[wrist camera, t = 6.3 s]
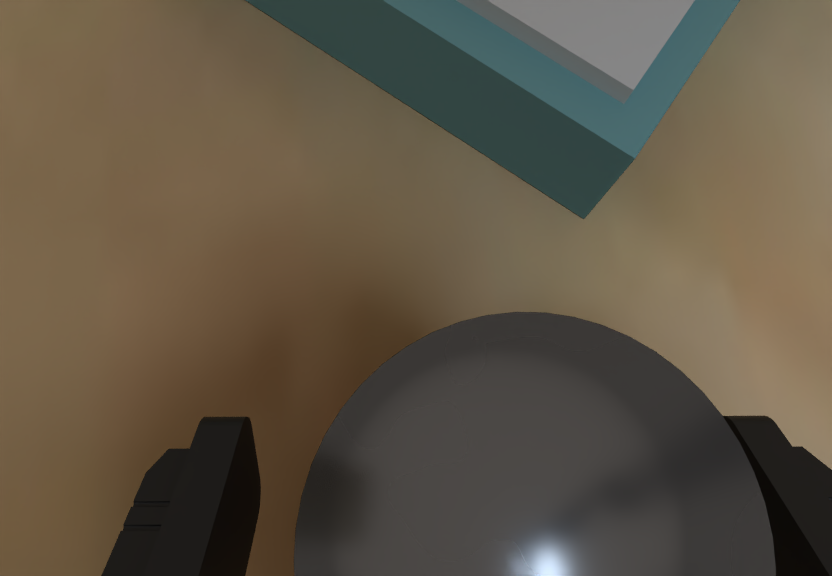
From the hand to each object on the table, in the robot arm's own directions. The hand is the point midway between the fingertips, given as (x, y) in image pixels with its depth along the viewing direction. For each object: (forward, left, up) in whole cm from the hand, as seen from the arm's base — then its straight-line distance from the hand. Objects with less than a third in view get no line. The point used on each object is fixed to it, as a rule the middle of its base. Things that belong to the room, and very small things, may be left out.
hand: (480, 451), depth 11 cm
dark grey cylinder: (0, +1, -6) cm, 6 cm away
